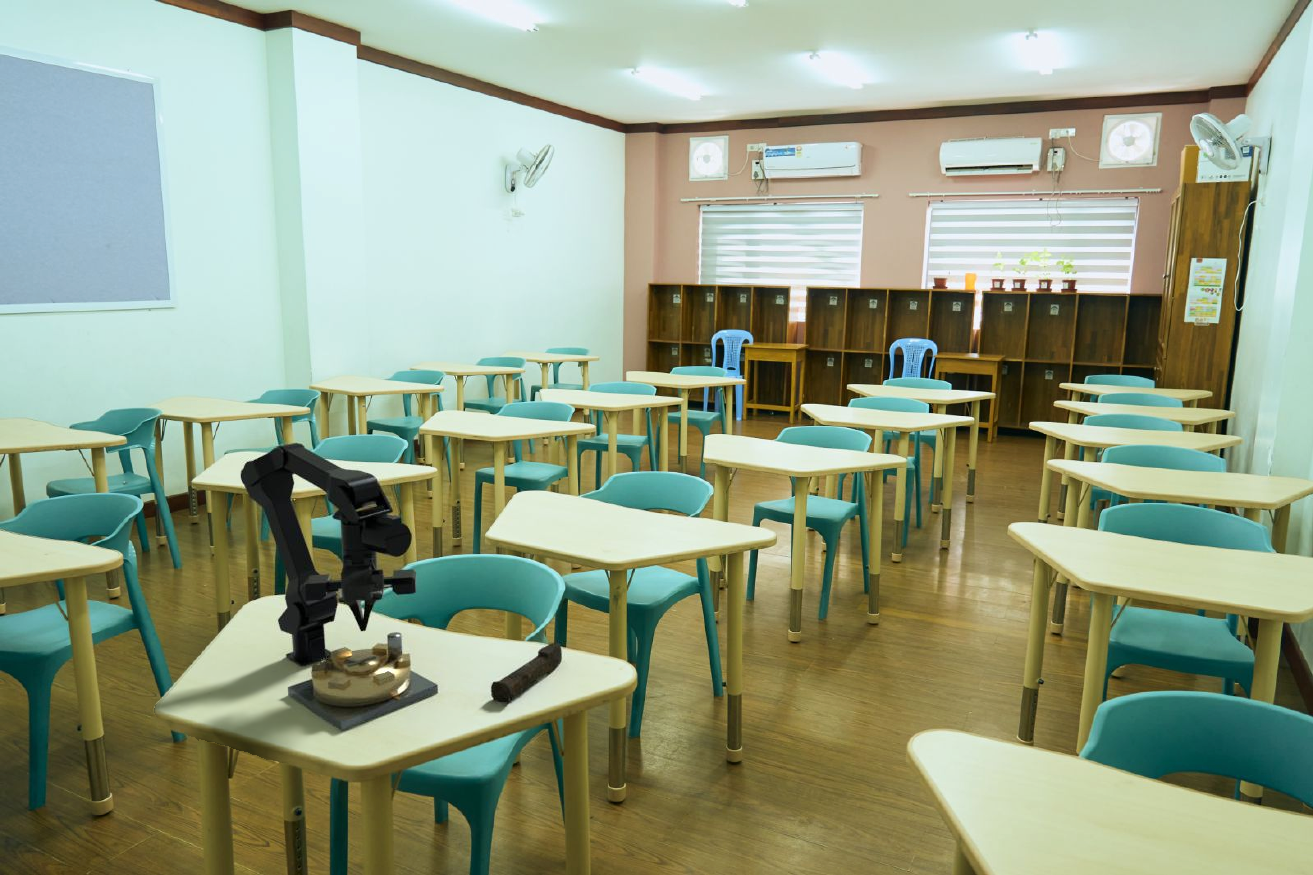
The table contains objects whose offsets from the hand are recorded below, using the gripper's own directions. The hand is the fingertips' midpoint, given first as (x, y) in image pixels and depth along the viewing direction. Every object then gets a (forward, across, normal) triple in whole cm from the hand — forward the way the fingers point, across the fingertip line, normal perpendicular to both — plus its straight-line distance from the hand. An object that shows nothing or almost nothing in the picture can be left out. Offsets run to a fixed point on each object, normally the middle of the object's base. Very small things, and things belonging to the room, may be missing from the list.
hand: (363, 630), depth 158 cm
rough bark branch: (+9, +29, -7) cm, 31 cm away
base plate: (+9, 0, -7) cm, 11 cm away
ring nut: (+7, 0, -7) cm, 10 cm away
